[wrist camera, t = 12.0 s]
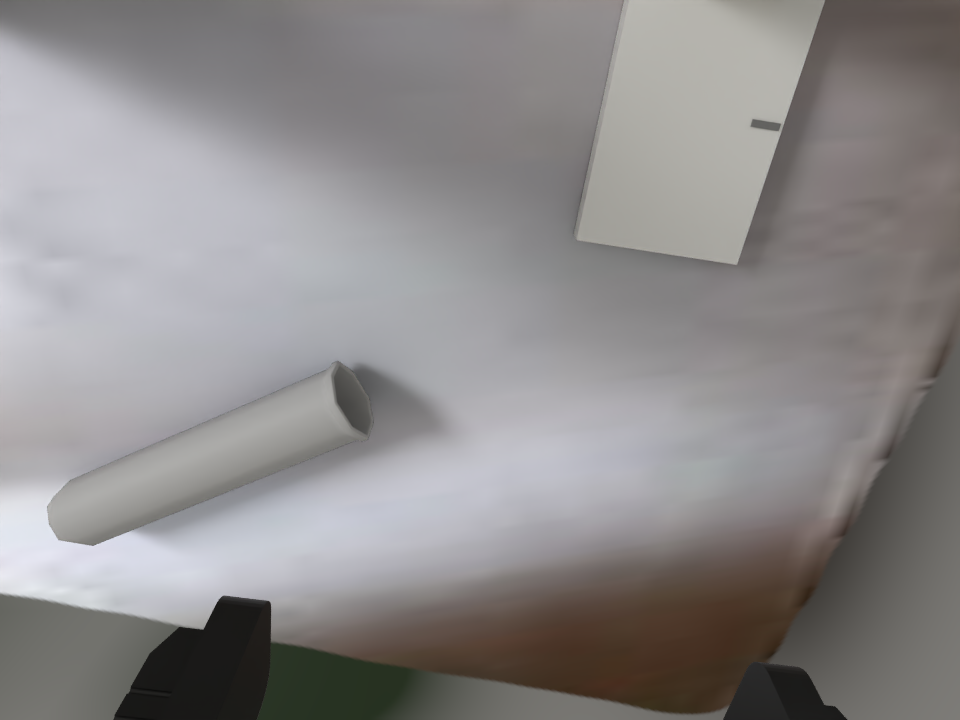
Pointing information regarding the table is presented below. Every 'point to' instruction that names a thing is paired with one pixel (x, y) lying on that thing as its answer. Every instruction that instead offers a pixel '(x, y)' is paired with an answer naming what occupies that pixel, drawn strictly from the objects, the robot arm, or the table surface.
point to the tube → (214, 457)
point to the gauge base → (692, 122)
